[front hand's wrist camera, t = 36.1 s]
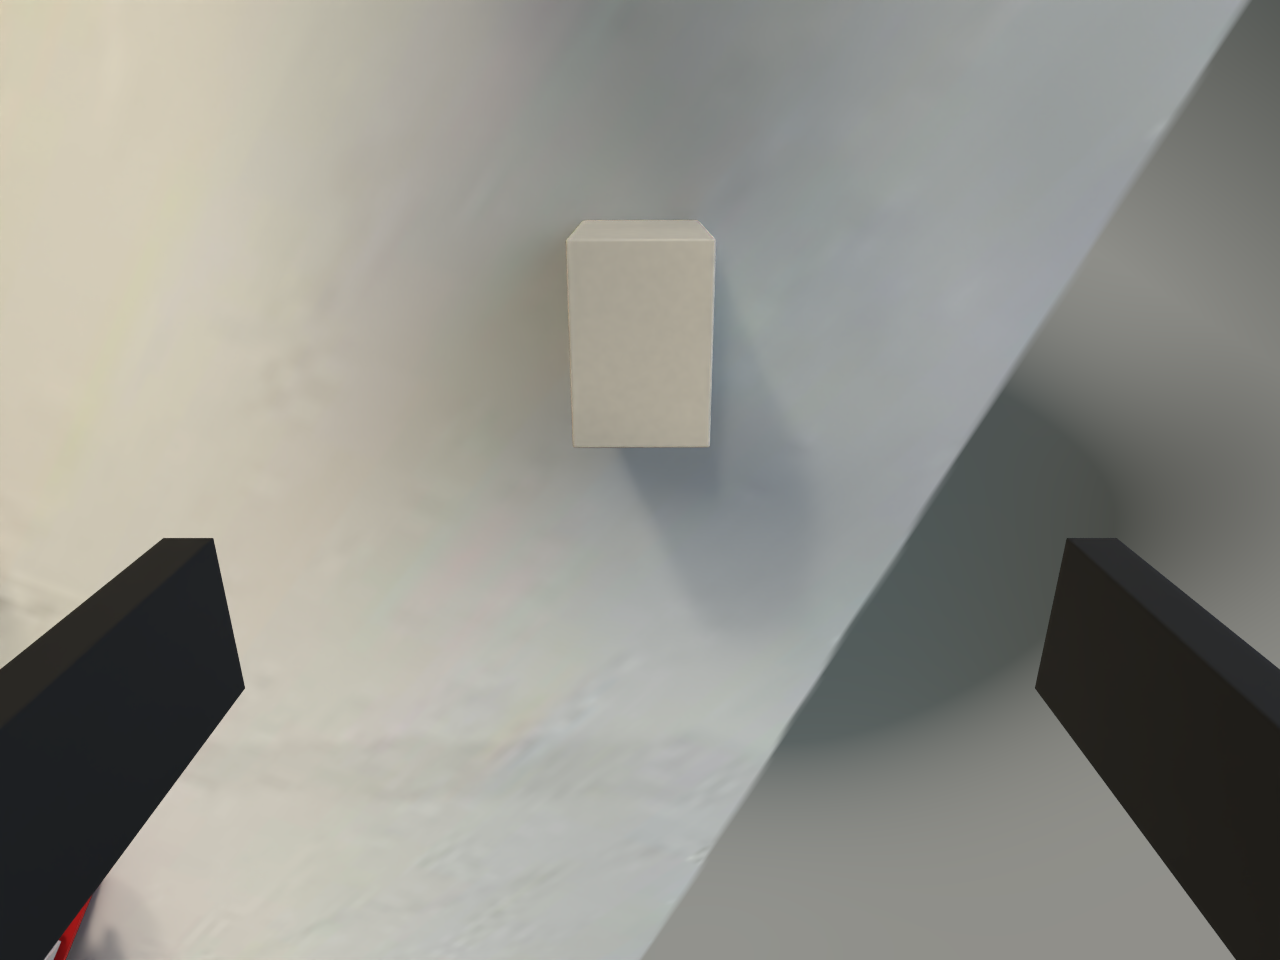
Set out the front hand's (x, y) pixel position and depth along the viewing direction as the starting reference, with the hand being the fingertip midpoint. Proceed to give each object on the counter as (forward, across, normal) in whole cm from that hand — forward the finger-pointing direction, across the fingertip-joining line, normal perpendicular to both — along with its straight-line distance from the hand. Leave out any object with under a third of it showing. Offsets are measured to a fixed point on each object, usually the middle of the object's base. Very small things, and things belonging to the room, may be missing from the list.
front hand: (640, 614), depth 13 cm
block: (+28, 0, 0) cm, 28 cm away
